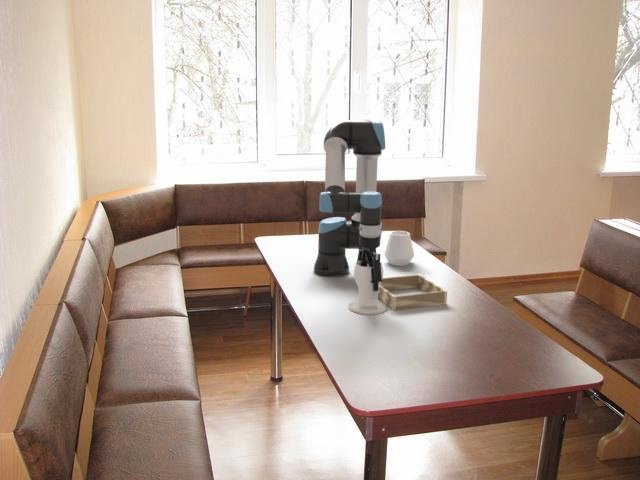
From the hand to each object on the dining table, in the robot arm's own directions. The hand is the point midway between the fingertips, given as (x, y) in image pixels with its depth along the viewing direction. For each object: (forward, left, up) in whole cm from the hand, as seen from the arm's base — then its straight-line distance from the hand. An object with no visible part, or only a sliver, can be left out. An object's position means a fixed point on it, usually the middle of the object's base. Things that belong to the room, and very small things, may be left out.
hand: (367, 294), depth 242 cm
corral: (-6, +19, -5) cm, 21 cm away
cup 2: (-50, +37, -6) cm, 62 cm away
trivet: (0, 0, -5) cm, 5 cm away
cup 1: (0, 0, -4) cm, 4 cm away
